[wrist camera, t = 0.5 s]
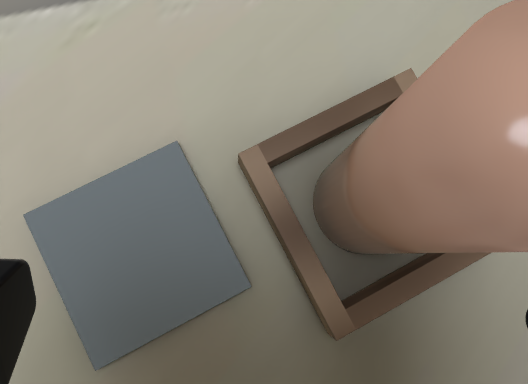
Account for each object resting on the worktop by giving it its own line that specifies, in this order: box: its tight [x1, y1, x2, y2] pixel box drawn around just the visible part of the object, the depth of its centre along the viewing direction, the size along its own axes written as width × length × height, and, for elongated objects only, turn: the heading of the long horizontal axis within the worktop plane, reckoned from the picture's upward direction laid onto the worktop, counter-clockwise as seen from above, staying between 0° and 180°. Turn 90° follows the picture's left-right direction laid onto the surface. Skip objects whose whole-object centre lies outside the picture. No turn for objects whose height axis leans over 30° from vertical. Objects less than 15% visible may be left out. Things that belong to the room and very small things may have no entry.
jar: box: [313, 0, 528, 254], centre depth 16 cm, size 5×5×14 cm
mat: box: [23, 141, 251, 371], centre depth 21 cm, size 8×8×1 cm
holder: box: [238, 68, 492, 341], centre depth 21 cm, size 10×10×2 cm
